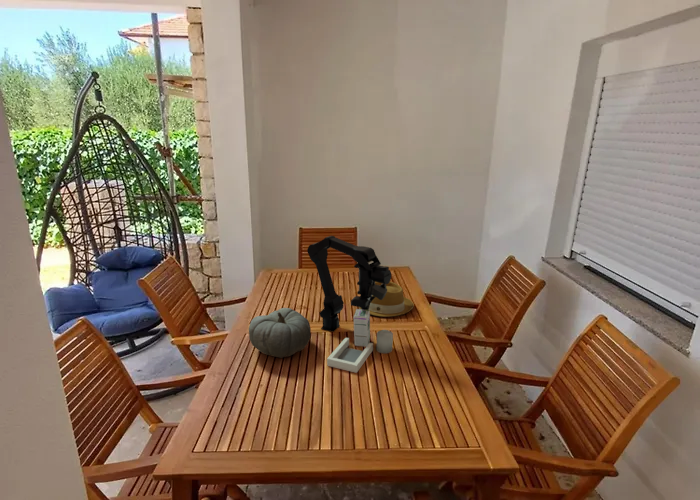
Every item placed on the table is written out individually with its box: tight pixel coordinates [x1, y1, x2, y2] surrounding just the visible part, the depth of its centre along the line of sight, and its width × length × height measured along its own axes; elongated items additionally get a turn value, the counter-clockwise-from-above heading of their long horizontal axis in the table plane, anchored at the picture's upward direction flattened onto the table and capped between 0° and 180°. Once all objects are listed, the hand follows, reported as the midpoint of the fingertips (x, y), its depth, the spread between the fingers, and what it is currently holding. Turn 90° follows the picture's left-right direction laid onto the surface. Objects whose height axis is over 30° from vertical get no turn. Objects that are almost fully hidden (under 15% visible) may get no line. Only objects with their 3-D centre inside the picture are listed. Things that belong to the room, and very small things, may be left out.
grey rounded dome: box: [375, 329, 394, 354], centre depth 165 cm, size 6×6×7 cm
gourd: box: [248, 307, 312, 359], centre depth 165 cm, size 25×25×17 cm
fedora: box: [358, 281, 415, 318], centre depth 204 cm, size 27×29×12 cm
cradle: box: [326, 337, 374, 374], centre depth 160 cm, size 12×18×3 cm
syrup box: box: [352, 308, 371, 348], centre depth 168 cm, size 6×6×14 cm
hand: (365, 314), depth 170 cm, fingers closed
